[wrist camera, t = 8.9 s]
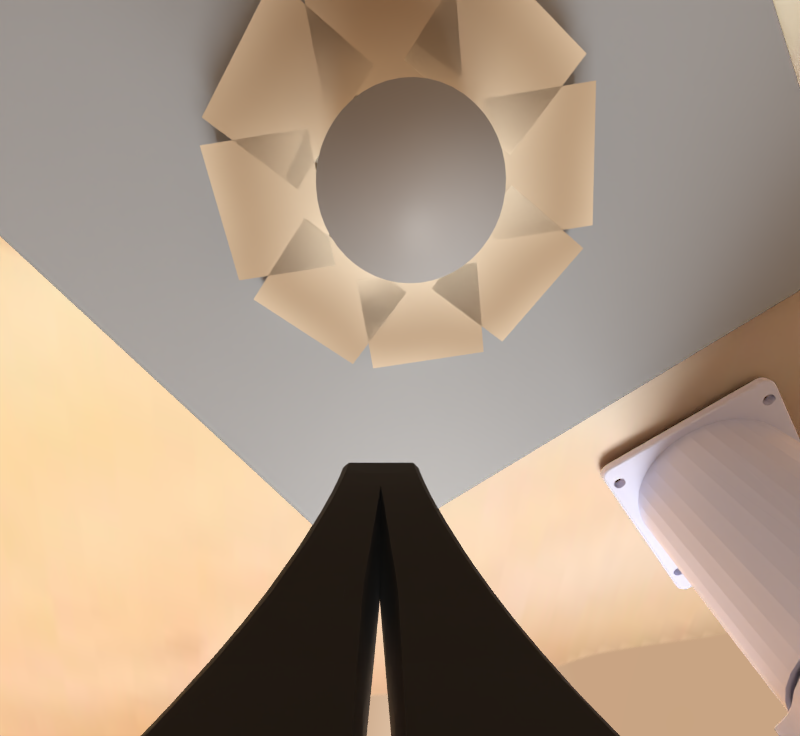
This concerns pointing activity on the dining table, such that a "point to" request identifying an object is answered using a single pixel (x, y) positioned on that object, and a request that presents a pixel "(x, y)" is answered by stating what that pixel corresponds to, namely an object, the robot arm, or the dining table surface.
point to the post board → (402, 226)
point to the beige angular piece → (314, 114)
